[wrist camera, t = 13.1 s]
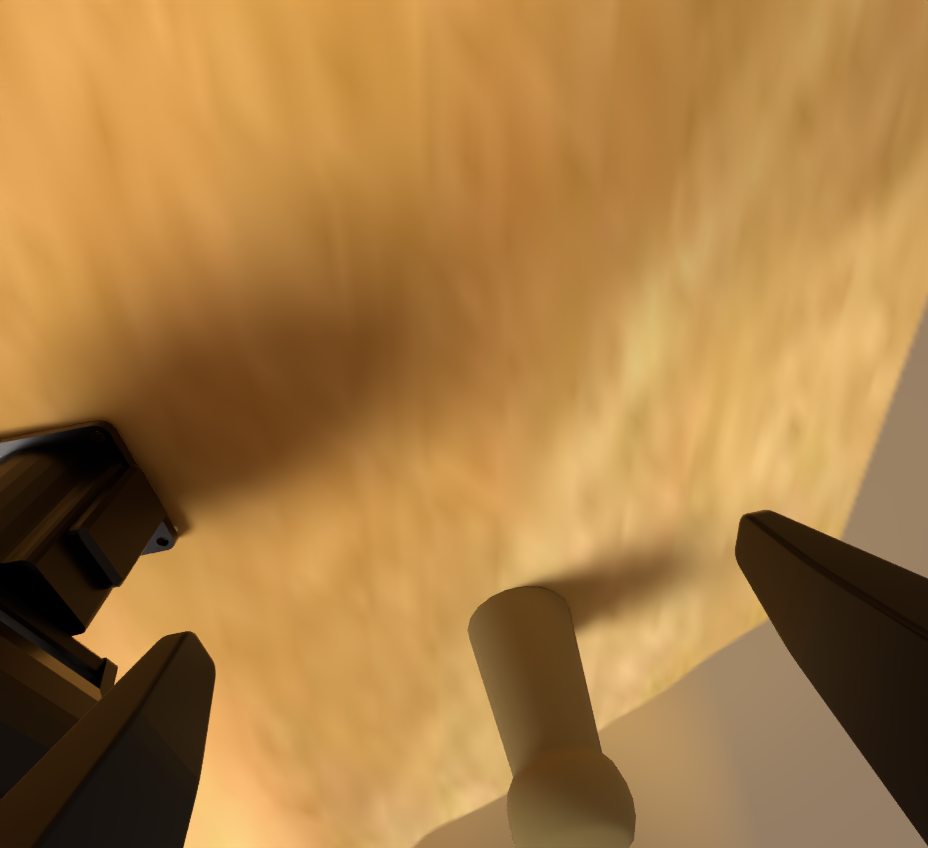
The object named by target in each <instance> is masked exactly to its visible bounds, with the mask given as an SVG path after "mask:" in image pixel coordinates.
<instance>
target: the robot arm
mask: <svg viewBox="0 0 928 848" xmlns="http://www.w3.org/2000/svg"><path fill="white" fill-rule="evenodd" d="M96 431H99V432H101V433H103V434H104V435H105V437H101V436H99V435H98V434H97V433H96ZM161 537H163V538H166V539H167V540H164V539H162V538H161ZM177 539H178V534H177V532H176V531H175V529H174V527H173V525H172V524H171V522H170V520H169V519H168V517H167V515H166V511H165V509H164V508H163V506H162V504H161V503H160V501H159V499H158V497H157V496H156V494H155V492H154V491H153V489H152V487H151V485H150V484H149V482H148V480H147V479H146V477H145V475H144V473H143V472H142V470H141V469H140V468H139V467H138V466H137V464H136V463H135V461H134V459H133V457H132V456H131V454H130V452H129V451H128V449H127V447H126V445H125V444H124V442H123V440H122V439H121V437H120V435H119V434H118V432H117V430H116V429H115V428H114V426H113V425H111V424H110V423H108V422H105V421H93V422H88V423H82V424H77V425H72V426H67V427H62V428H56V429H51V430H46V431H41V432H36V433H30V434H25V435H20V436H15V437H10V438H4V439H0V848H183V847H184V843H185V839H186V835H187V831H188V827H189V823H190V819H191V815H192V811H193V807H194V802H195V798H196V794H197V790H198V785H199V781H200V775H201V769H202V764H203V757H204V751H205V744H206V737H207V731H208V724H209V717H210V711H211V704H212V697H213V691H214V684H215V676H216V671H215V665H214V662H213V660H212V658H211V657H210V655H209V654H208V652H207V651H206V649H205V648H204V646H203V645H202V643H201V642H200V640H199V639H198V637H197V636H196V634H195V633H193V632H191V631H185V632H181V633H176V634H171V635H167V636H165V637H163V638H161V639H160V640H159V641H158V642H157V643H156V644H155V645H154V646H153V647H152V648H151V649H150V650H149V651H148V652H147V653H146V654H145V655H144V656H143V657H142V658H141V659H140V660H139V661H138V662H137V663H136V664H135V665H134V666H133V667H132V668H131V669H130V670H129V671H128V672H127V673H126V674H125V675H124V676H123V677H122V678H121V679H120V680H119V681H118V682H117V683H116V684H115V685H114V683H115V678H116V674H117V669H118V666H117V665H115V664H114V663H113V662H111V661H110V660H109V659H107V658H100V657H99V656H98V655H96V654H95V653H94V652H92V651H91V650H90V649H88V648H87V647H85V646H84V645H83V644H81V643H80V642H79V641H77V640H76V639H75V638H73V637H72V636H74V635H79V634H82V633H84V632H85V631H86V629H87V628H88V626H89V625H90V623H91V622H92V620H93V618H94V617H95V615H96V614H97V612H98V611H99V609H100V608H101V606H102V605H103V603H104V601H105V600H106V598H107V597H108V595H109V594H110V592H111V591H112V589H113V588H115V587H120V586H121V585H122V584H123V582H124V581H125V579H126V577H127V576H128V574H129V573H130V571H131V569H132V568H133V566H134V565H135V563H136V562H137V560H138V558H139V557H140V555H145V554H150V553H155V552H160V551H165V550H169V549H171V548H172V547H173V546H174V545H175V543H176V541H177ZM735 556H736V560H737V562H738V565H739V567H740V568H741V570H742V572H743V574H744V575H745V577H746V579H747V580H748V582H749V584H750V586H751V587H752V589H753V591H754V593H755V594H756V596H757V598H758V599H759V601H760V603H761V605H762V606H763V608H764V610H765V612H766V613H767V615H768V617H769V618H770V620H771V622H772V624H773V625H774V627H775V629H776V631H777V632H778V634H779V636H780V637H781V639H782V641H783V642H784V644H785V646H786V647H787V649H788V650H789V652H790V653H791V655H792V656H793V658H794V659H795V661H796V662H797V664H798V665H799V667H800V668H801V669H802V671H803V672H804V674H805V675H806V676H807V678H808V679H809V680H810V682H811V683H812V685H813V686H814V688H815V689H816V690H817V692H818V693H819V695H820V696H821V697H822V699H823V700H824V702H825V703H826V704H827V706H828V707H829V708H830V710H831V711H832V713H833V714H834V715H835V717H836V718H837V720H838V721H839V722H840V724H841V725H842V727H843V728H844V729H845V731H846V732H847V734H848V735H849V736H850V738H851V739H852V741H853V742H854V743H855V745H856V746H857V748H858V749H859V750H860V752H861V753H862V755H863V756H864V757H865V759H866V760H867V762H868V763H869V764H870V766H871V767H872V769H873V770H874V771H875V773H876V774H877V775H878V777H879V778H880V780H881V781H882V782H883V784H884V785H885V787H886V788H887V790H888V791H889V792H890V794H891V795H892V796H893V798H894V799H895V801H896V802H897V804H898V805H899V806H900V808H901V809H902V811H903V812H904V813H905V815H906V816H907V817H908V819H909V820H910V822H911V823H912V825H913V826H914V827H915V829H916V830H917V831H918V833H919V834H920V836H921V837H922V839H923V840H924V841H925V843H926V844H927V846H928V578H926V577H923V576H921V575H919V574H916V573H914V572H912V571H909V570H907V569H905V568H902V567H900V566H898V565H896V564H893V563H891V562H889V561H886V560H884V559H882V558H879V557H877V556H875V555H873V554H870V553H868V552H866V551H863V550H861V549H859V548H856V547H854V546H851V545H849V544H847V543H845V542H843V541H840V540H838V539H836V538H833V537H831V536H829V535H826V534H824V533H822V532H820V531H817V530H815V529H813V528H810V527H808V526H806V525H803V524H801V523H799V522H796V521H794V520H792V519H790V518H787V517H785V516H783V515H780V514H778V513H776V512H773V511H770V510H762V511H757V512H752V513H747V514H745V515H743V516H742V517H741V519H740V522H739V528H738V534H737V540H736V546H735Z"/></svg>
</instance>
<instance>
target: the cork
mask: <svg viewBox="0 0 928 848" xmlns="http://www.w3.org/2000/svg"><path fill="white" fill-rule="evenodd" d="M468 633H469V638H470V642H471V645H472V648H473V651H474V655H475V658H476V661H477V664H478V667H479V670H480V673H481V677H482V680H483V683H484V686H485V689H486V692H487V696H488V699H489V702H490V705H491V708H492V711H493V714H494V718H495V721H496V724H497V727H498V730H499V733H500V737H501V740H502V743H503V746H504V749H505V752H506V756H507V759H508V762H509V765H510V768H511V771H512V774H513V780H512V783H511V785H510V788H509V791H508V795H507V814H508V820H509V826H510V831H511V836H512V839H513V841H514V844H515V846H516V848H629V847H630V845H631V844H632V842H633V840H634V832H635V819H636V815H635V809H634V803H633V798H632V795H631V793H630V790H629V788H628V785H627V783H626V781H625V780H624V778H623V777H622V775H621V773H620V772H619V770H618V769H617V767H616V766H615V764H614V763H613V761H612V760H610V759H609V758H608V757H606V756H605V755H604V754H603V753H602V750H601V746H600V741H599V737H598V733H597V728H596V724H595V719H594V715H593V711H592V706H591V702H590V697H589V693H588V689H587V684H586V680H585V676H584V671H583V667H582V662H581V658H580V654H579V649H578V645H577V640H576V636H575V632H574V627H573V623H572V618H571V614H570V610H569V607H568V605H567V604H566V602H565V600H564V599H563V598H562V597H560V596H559V595H558V594H556V593H555V592H553V591H550V590H547V589H543V588H540V587H520V588H515V589H511V590H506V591H504V592H502V593H499V594H497V595H495V596H493V597H491V598H489V599H488V600H487V601H486V602H484V603H483V604H482V605H480V606H479V607H478V608H477V610H476V611H475V613H474V614H473V615H472V617H471V618H470V622H469V627H468Z"/></svg>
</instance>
